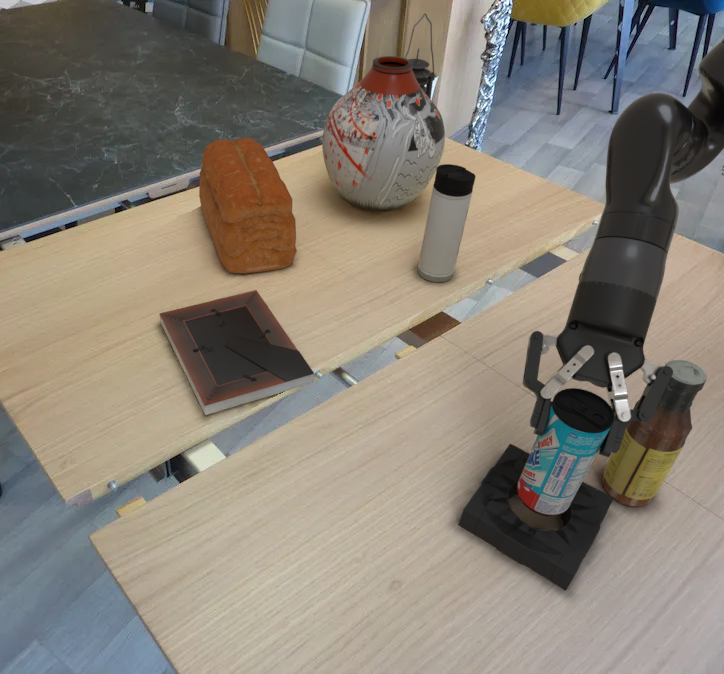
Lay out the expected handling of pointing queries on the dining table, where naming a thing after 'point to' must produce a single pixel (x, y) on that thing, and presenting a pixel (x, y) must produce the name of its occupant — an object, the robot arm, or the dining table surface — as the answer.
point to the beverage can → (564, 451)
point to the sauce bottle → (654, 440)
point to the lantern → (423, 66)
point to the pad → (523, 542)
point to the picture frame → (234, 351)
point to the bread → (246, 207)
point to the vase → (383, 138)
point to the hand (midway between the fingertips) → (570, 444)
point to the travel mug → (445, 222)
